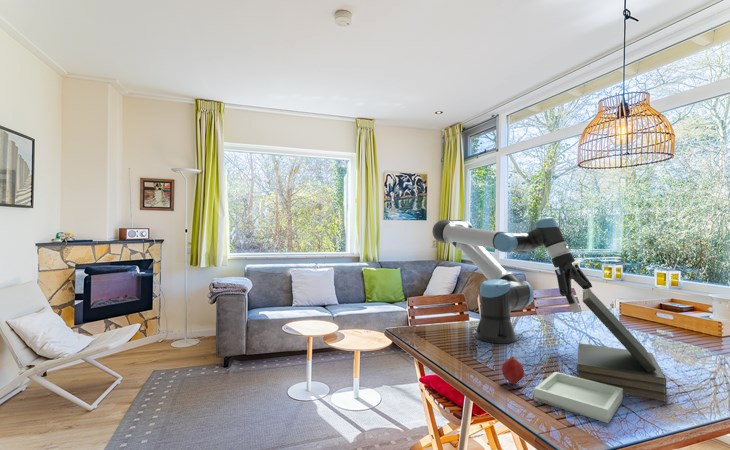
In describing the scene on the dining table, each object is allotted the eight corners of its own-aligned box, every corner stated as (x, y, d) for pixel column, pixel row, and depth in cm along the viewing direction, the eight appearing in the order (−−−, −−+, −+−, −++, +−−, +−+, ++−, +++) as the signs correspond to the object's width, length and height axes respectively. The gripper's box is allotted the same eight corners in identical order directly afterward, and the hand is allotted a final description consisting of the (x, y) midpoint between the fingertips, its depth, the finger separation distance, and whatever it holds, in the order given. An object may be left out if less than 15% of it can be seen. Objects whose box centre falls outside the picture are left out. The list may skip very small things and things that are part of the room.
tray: (534, 400, 92) (534, 388, 92) (555, 382, 103) (555, 371, 103) (608, 423, 80) (608, 409, 81) (622, 400, 92) (622, 388, 92)
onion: (498, 380, 104) (498, 352, 105) (517, 379, 105) (517, 352, 105) (508, 388, 99) (507, 359, 99) (528, 388, 99) (527, 358, 99)
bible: (666, 403, 91) (664, 303, 92) (577, 386, 101) (575, 297, 102) (653, 373, 110) (651, 291, 111) (579, 361, 121) (577, 287, 122)
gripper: (553, 254, 129) (580, 312, 123) (584, 249, 144) (610, 300, 137) (535, 261, 135) (560, 317, 128) (566, 255, 150) (590, 305, 143)
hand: (586, 309), depth 133 cm, fingers open, 13 cm apart
